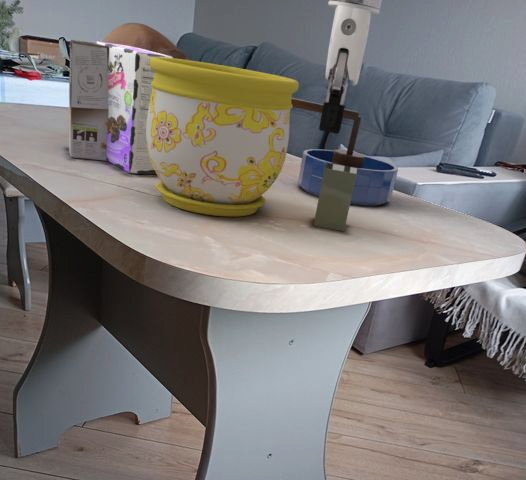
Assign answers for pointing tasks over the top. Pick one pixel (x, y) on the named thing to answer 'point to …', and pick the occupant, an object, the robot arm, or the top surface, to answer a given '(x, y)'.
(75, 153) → the coffee box
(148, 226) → the top surface
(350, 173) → the olive green upright block
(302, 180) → the bowl
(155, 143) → the flowerpot
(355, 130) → the wooden gallows stand
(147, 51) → the candy box
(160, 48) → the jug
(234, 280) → the top surface
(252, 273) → the top surface
